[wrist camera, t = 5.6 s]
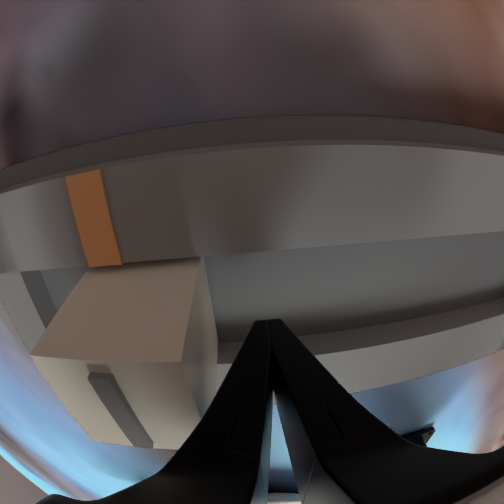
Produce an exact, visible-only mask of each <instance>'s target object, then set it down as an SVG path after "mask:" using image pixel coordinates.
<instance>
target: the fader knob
mask: <svg viewBox="0 0 504 504" xmlns="http://www.w3.org/2000/svg"><path fill="white" fill-rule="evenodd" d="M217 354H218V335H217V330H216V324H215V319H214V313H213V308H212V302H211V296H210V291H209V285H208V279H207V273H206V267H205V261H204V256H201V257H189V258H178V259H166V260H154V261H142V262H130V263H122V265H111V266H99V267H89V269H88V270H87V271H86V273H85V274H84V275H83V277H82V278H81V279H80V281H79V282H78V283H77V285H76V286H75V288H74V289H73V290H72V292H71V293H70V295H69V296H68V297H67V299H66V300H65V302H64V303H63V305H62V306H61V307H60V309H59V310H58V312H57V313H56V315H55V316H54V318H53V319H52V321H51V322H50V324H49V325H48V327H47V328H46V330H45V332H44V333H43V335H42V336H41V338H40V339H39V341H38V343H37V344H36V346H35V347H34V349H33V351H32V352H31V354H30V356H31V358H32V360H33V361H34V363H35V364H36V366H37V367H38V369H39V371H40V372H41V374H42V375H43V377H44V378H45V380H46V381H47V383H48V384H49V385H50V387H51V388H52V390H53V391H54V393H55V394H56V395H57V397H58V398H59V399H60V401H61V402H62V403H63V405H64V406H65V407H66V409H67V410H68V411H69V413H70V414H71V415H72V416H73V418H74V419H75V420H76V421H77V423H78V424H79V425H80V426H81V428H82V429H83V430H84V431H85V432H86V433H87V435H88V436H89V437H90V438H91V439H92V440H93V441H97V442H103V443H110V444H117V445H125V446H134V447H145V448H157V449H174V450H178V449H179V448H180V447H181V446H182V444H183V443H184V442H185V441H186V439H187V438H188V437H189V435H190V434H191V433H192V431H193V430H194V429H195V427H196V426H197V425H198V423H199V422H200V420H201V419H202V417H203V416H204V414H205V412H206V411H207V409H208V407H209V406H210V404H211V402H212V400H213V398H214V397H215V394H216V373H217Z"/></svg>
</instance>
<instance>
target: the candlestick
mask: <svg viewBox="0 0 504 504" xmlns="http://www.w3.org/2000/svg"><path fill="white" fill-rule="evenodd" d="M267 504H301V500H300V496H299V494H296V493H268V496H267Z"/></svg>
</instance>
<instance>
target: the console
mask: <svg viewBox="0 0 504 504" xmlns="http://www.w3.org/2000/svg"><path fill="white" fill-rule="evenodd" d="M201 256H204V261H205V267H206V273H207V279H208V285H209V291H210V296H211V302H212V308H213V313H214V319H215V324H216V330H217V335H218V354H217V373H216V393H217V391H218V389H219V387H220V386H221V384H222V382H223V380H224V378H225V376H226V374H227V372H228V371H229V369H230V367H231V365H232V363H233V361H234V359H235V357H236V355H237V353H238V351H239V350H240V348H241V346H242V344H243V342H244V340H245V338H246V336H247V334H248V332H249V330H250V328H251V326H252V324H253V322H254V321H255V320H264V319H266V320H268V319H276V318H280V319H281V320H282V321H283V322H284V323H285V324H286V325H287V326H288V327H289V328H290V330H291V331H292V332H293V333H294V334H295V335H296V336H297V337H298V338H299V340H300V341H301V342H302V343H303V344H304V345H305V346H306V347H307V348H308V349H309V351H310V352H311V353H312V354H313V355H314V356H315V357H316V358H317V359H318V360H319V361H320V363H321V364H322V365H323V366H324V367H325V368H326V369H327V370H328V371H329V372H330V373H331V374H332V376H333V377H334V378H335V379H336V380H337V381H338V382H339V383H338V384H341V385H342V386H343V387H344V388H345V389H346V391H347V392H348V393H349V394H351V393H356V392H361V391H366V390H371V389H375V388H380V387H384V386H389V385H393V384H397V383H401V382H405V381H409V380H413V379H416V378H420V377H423V376H427V375H430V374H434V373H437V372H440V371H444V370H447V369H450V368H453V367H456V366H459V365H462V364H465V363H468V362H471V361H473V360H476V359H479V358H482V357H484V356H487V355H490V354H492V353H495V352H497V351H500V350H502V349H504V133H499V132H494V131H490V130H484V129H479V128H473V127H468V126H461V125H455V124H448V123H441V122H433V121H425V120H415V119H405V118H393V117H378V116H357V115H285V116H264V117H249V118H236V119H225V120H215V121H206V122H198V123H190V124H183V125H176V126H169V127H163V128H157V129H151V130H145V131H140V132H135V133H129V134H124V135H120V136H115V137H110V138H106V139H101V140H97V141H93V142H89V143H85V144H81V145H77V146H73V147H69V148H65V149H62V150H58V151H55V152H51V153H48V154H45V155H41V156H38V157H35V158H32V159H29V160H26V161H23V162H20V163H17V164H14V165H11V166H8V167H6V168H3V169H1V170H0V299H1V301H2V303H3V305H4V307H5V309H6V311H7V313H8V315H9V317H10V319H11V321H12V323H13V325H14V327H15V329H16V330H17V332H18V334H19V336H20V338H21V339H22V341H23V343H24V345H25V346H26V348H27V350H28V351H29V353H30V354H31V352H32V351H33V349H34V347H35V346H36V344H37V343H38V341H39V339H40V338H41V336H42V335H43V333H44V332H45V330H46V328H47V327H48V325H49V324H50V322H51V321H52V319H53V318H54V316H55V315H56V313H57V312H58V310H59V309H60V307H61V306H62V305H63V303H64V302H65V300H66V299H67V297H68V296H69V295H70V293H71V292H72V290H73V289H74V288H75V286H76V285H77V283H78V282H79V281H80V279H81V278H82V277H83V275H84V274H85V273H86V271H87V270H88V269H89V267H99V266H111V265H122V263H130V262H142V261H154V260H166V259H178V258H189V257H201ZM215 396H216V394H215ZM273 404H276V400H275V396H274V391H273Z"/></svg>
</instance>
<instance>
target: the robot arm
mask: <svg viewBox="0 0 504 504" xmlns="http://www.w3.org/2000/svg"><path fill="white" fill-rule="evenodd" d="M338 383H339V382H338V381H337V380H336V379H335V378H334V377H333V376H332V374H331V373H330V372H329V371H328V370H327V369H326V368H325V367H324V366H323V365H322V364H321V363H320V361H319V360H318V359H317V358H316V357H315V356H314V355H313V354H312V353H311V352H310V351H309V349H308V348H307V347H306V346H305V345H304V344H303V343H302V342H301V341H300V340H299V338H298V337H297V336H296V335H295V334H294V333H293V332H292V331H291V330H290V328H289V327H288V326H287V325H286V324H285V323H284V322H283V321H282V320H281V319H280V318H276V319H268V320H266V319H264V320H255V321H254V322H253V324H252V326H251V328H250V330H249V332H248V334H247V336H246V338H245V340H244V342H243V344H242V346H241V348H240V350H239V351H238V353H237V355H236V357H235V359H234V361H233V363H232V365H231V367H230V369H229V371H228V372H227V374H226V376H225V378H224V380H223V382H222V384H221V386H220V387H219V389H218V391H217V393H216V396H215V397H214V398H213V400H212V402H211V404H210V406H209V407H208V409H207V411H206V412H205V414H204V416H203V417H202V419H201V420H200V422H199V423H198V425H197V426H196V427H195V429H194V430H193V431H192V433H191V434H190V435H189V437H188V438H187V439H186V441H185V442H184V443H183V444H182V446H181V447H180V448H179V449H178V451H177V452H176V453H175V454H174V456H173V457H172V458H171V459H170V461H169V462H168V463H167V464H166V465H165V466H164V467H163V468H162V469H161V470H160V471H159V472H157V473H156V474H154V475H153V476H151V477H149V478H147V479H145V480H143V481H141V482H139V483H137V484H134V485H132V486H130V487H128V488H126V489H123V490H121V491H119V492H117V493H114V494H112V495H110V496H107V497H105V498H102V499H98V500H93V501H81V500H76V499H72V498H69V497H66V496H62V495H58V494H51V495H49V496H47V497H45V498H44V499H42V500H40V501H39V502H38V503H36V504H267V496H268V481H269V465H270V448H271V430H272V409H273V391H274V396H275V400H276V404H277V408H278V412H279V416H280V420H281V424H282V428H283V432H284V436H285V440H286V444H287V448H288V452H289V456H290V460H291V464H292V468H293V472H294V476H295V480H296V484H297V488H298V492H299V496H300V500H301V504H504V446H503V447H501V448H500V449H498V450H496V451H493V452H489V453H484V454H471V453H462V452H455V451H448V450H441V449H435V448H429V447H427V445H426V443H427V442H428V440H429V439H430V438H431V436H432V435H433V433H434V432H435V429H434V427H430V428H427V429H425V430H422V431H419V432H416V433H412V434H409V435H406V436H403V437H401V436H399V435H398V434H397V433H395V432H394V431H393V430H392V429H390V428H389V427H388V426H387V425H385V424H384V423H383V422H382V421H380V420H379V419H378V418H376V417H375V416H374V415H373V414H371V413H370V412H369V411H368V410H367V409H366V408H364V407H363V406H362V405H361V404H360V403H359V402H357V401H356V400H355V399H354V398H353V397H352V396H351V395H350V394H349V393H348V392H347V391H346V389H345V388H344V387H343V386H342V385H341V384H338Z"/></svg>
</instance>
